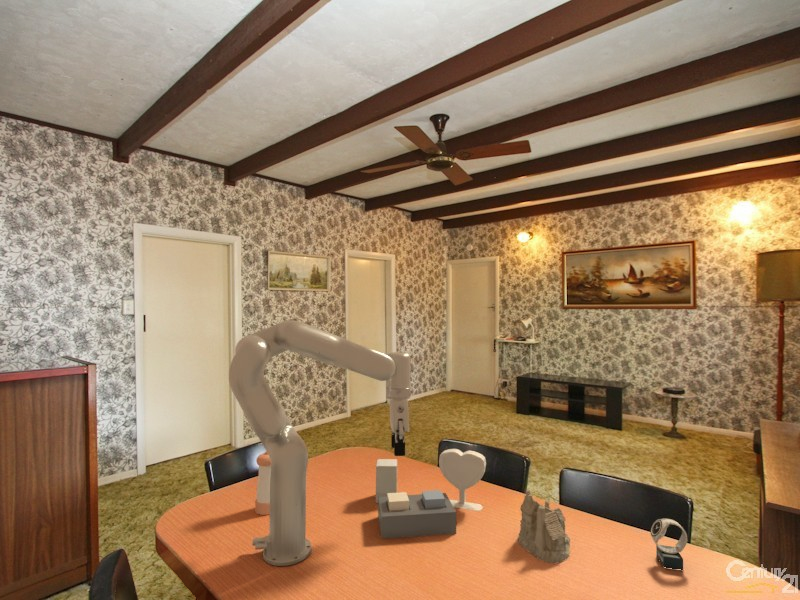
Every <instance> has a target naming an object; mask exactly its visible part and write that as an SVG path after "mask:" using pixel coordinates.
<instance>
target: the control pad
mask: <svg viewBox="0 0 800 600" xmlns="http://www.w3.org/2000/svg"><path fill="white" fill-rule="evenodd" d="M442 494H443V496H444V498H445V508H430V509H424V506H423V504H422V493H420V494H407V496H408V499H409V510H398V511H388V508H387V496H384V497H378V503H377V505H378V506H377V508H378V510H377V511H378V512H377V513H378V515H377V518H378V524H379V529H380V530H379V531H380V534H381V535H380V536H381V540H384V539H385V540H387V539H399V538H412V537H416V538H417V537H425V536H426V537H427V536H441V535H442V536H443V535H444V536H445V535H454V534H455V535H456V534H457V510H456V509H455V507H453V505H452V504H451V502H450V500H451V499H449V497H448V495H447V493H446V492H442Z"/></svg>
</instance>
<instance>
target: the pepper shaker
mask: <svg viewBox="0 0 800 600" xmlns="http://www.w3.org/2000/svg"><path fill="white" fill-rule="evenodd" d="M255 461H256V464H257V465H258V479H257V485H256V499H255V502H254V503H255V505H254V506H255V508H254V509H255V511H254V512H255V513H256V515H259V514H260V515H259V516H268V514H269V515H270V476H271V459H270V457H269V454H268V452H267V450H265V452H263V453H261V454H259V455H258V456H257V458H256V460H255Z"/></svg>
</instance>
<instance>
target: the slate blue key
mask: <svg viewBox="0 0 800 600" xmlns="http://www.w3.org/2000/svg"><path fill="white" fill-rule="evenodd" d="M442 493H443V492H442V490H441V489H438V490H436V489H435V490H422V491H421V494H422V504H423V506H424V509H430V508H445V498H444V496H443V494H442Z"/></svg>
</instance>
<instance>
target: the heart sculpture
mask: <svg viewBox="0 0 800 600" xmlns="http://www.w3.org/2000/svg"><path fill="white" fill-rule="evenodd" d="M438 459H439V460H438V464H439V470H440V472H441V474H442V476H443V478H445V479H446V480H447V481H448V482H449V483H450V484H451V485H452V486H454V487H455V488H456V489H457V490H459V491H458V492H459V498H458V499H459V500H455V499H449V500H450V502H451V504H452V505H453V507H454V508H457V509H464V510H470V511H475V512H480V511H482V510H483V508H484V507H483V506H482V505H481V504H480V503H473V502H468V501H466V490H467V489H470V488H472V487H474V486H475V485H476V484H478V483H479V482H480V481H481V480H482V478H483V476H484V474H485V472H486V468H487V467H486V466H487V460H486V456H484V455H483V454H482V453H480V452H477V451H474V450H469V449H468V450H466V451H464V452H463V451H462V450H460V449H458V448H449V449H445V450H443V451H442V452H441V453H440V455H439V458H438Z"/></svg>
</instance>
